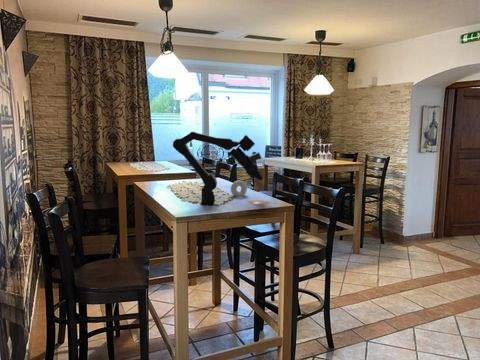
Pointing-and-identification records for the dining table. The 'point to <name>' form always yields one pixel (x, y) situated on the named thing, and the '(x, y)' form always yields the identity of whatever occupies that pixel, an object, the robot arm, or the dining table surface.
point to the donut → (234, 188)
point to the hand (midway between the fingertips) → (261, 178)
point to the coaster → (258, 202)
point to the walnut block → (259, 183)
